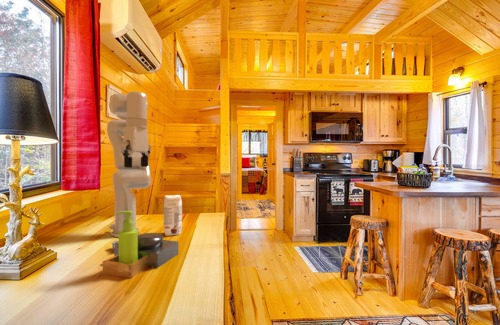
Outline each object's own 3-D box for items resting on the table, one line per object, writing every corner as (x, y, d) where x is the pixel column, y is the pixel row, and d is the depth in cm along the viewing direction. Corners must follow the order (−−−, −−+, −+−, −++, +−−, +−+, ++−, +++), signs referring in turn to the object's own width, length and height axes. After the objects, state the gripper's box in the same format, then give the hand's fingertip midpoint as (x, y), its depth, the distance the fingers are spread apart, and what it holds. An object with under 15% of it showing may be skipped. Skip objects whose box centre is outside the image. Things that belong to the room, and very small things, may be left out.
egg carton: (116, 254, 107) (116, 244, 106) (110, 249, 112) (110, 239, 112) (143, 248, 114) (143, 238, 114) (136, 243, 119) (136, 234, 119)
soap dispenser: (119, 266, 94) (119, 209, 94) (140, 266, 95) (140, 209, 95) (112, 273, 89) (112, 213, 88) (134, 273, 89) (134, 213, 89)
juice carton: (182, 235, 132) (182, 196, 132) (163, 236, 130) (164, 197, 129) (180, 230, 140) (180, 194, 139) (163, 232, 137) (163, 195, 136)
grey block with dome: (93, 272, 89) (93, 248, 89) (139, 249, 112) (139, 230, 111) (140, 279, 85) (140, 254, 85) (178, 254, 107) (178, 233, 107)
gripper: (142, 126, 117) (142, 166, 117) (112, 121, 100) (112, 167, 100) (157, 126, 115) (157, 166, 115) (129, 121, 98) (129, 168, 98)
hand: (136, 166), depth 108 cm, fingers open, 9 cm apart
